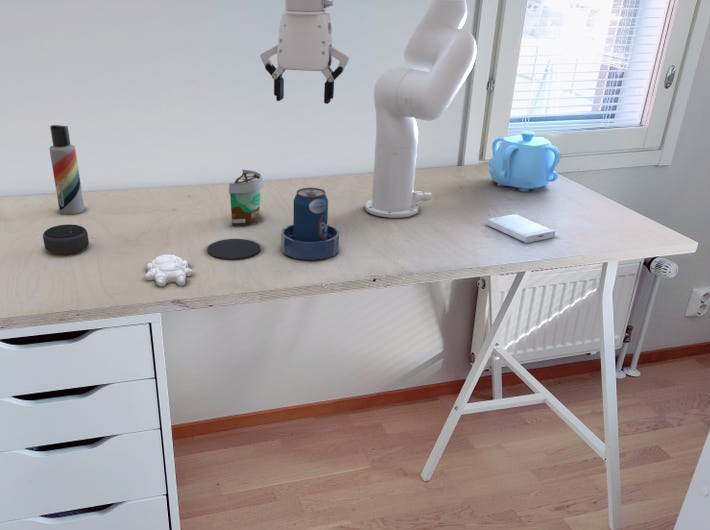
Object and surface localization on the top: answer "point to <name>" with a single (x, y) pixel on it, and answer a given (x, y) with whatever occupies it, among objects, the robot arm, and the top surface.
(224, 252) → the coaster
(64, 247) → the smart speaker
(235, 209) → the food container
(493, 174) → the decorative pot
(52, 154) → the lotion bottle
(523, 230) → the hard drive
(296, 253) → the bowl
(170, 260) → the astronaut figurine
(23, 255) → the top surface
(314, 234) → the soda can
